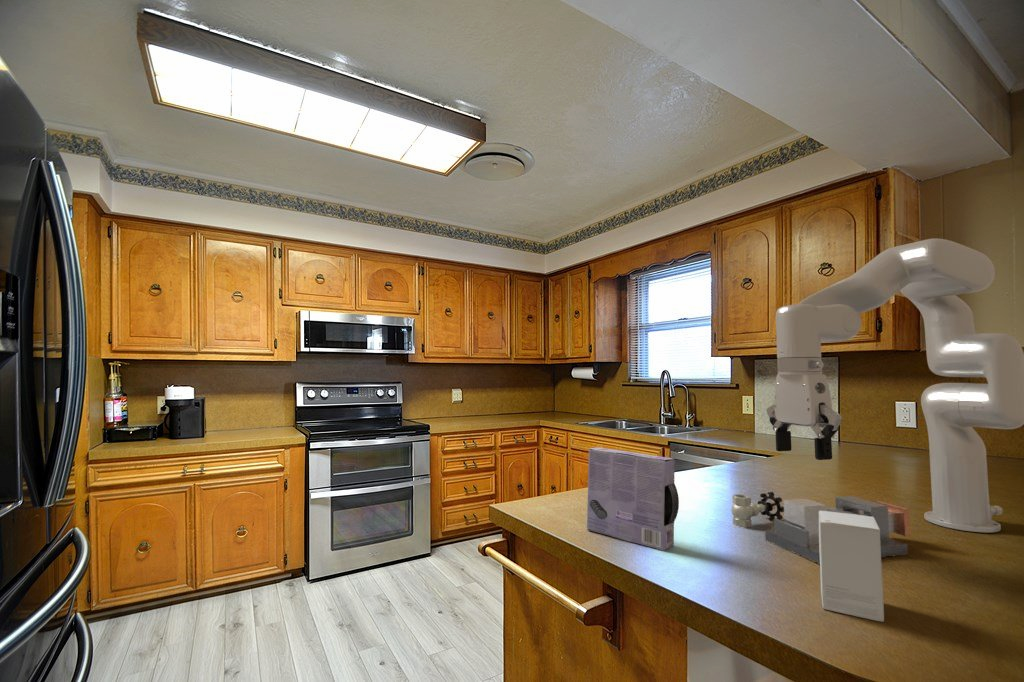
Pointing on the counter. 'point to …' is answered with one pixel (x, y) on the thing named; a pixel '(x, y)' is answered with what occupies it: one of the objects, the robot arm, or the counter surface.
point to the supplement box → (851, 565)
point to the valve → (754, 508)
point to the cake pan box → (632, 497)
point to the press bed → (815, 553)
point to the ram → (896, 517)
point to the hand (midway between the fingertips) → (802, 454)
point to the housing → (804, 516)
